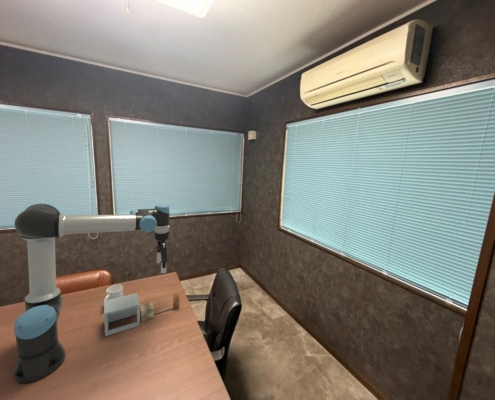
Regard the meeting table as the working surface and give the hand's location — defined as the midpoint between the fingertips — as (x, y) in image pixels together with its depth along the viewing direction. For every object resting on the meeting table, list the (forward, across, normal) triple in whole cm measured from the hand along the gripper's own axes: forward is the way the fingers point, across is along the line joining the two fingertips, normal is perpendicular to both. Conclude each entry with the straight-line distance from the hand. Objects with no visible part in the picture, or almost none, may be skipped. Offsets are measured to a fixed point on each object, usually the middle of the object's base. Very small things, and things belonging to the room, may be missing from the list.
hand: (161, 267), depth 124 cm
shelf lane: (+25, -5, +19) cm, 32 cm away
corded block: (+25, -5, +1) cm, 25 cm away
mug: (+26, +13, +24) cm, 38 cm away
